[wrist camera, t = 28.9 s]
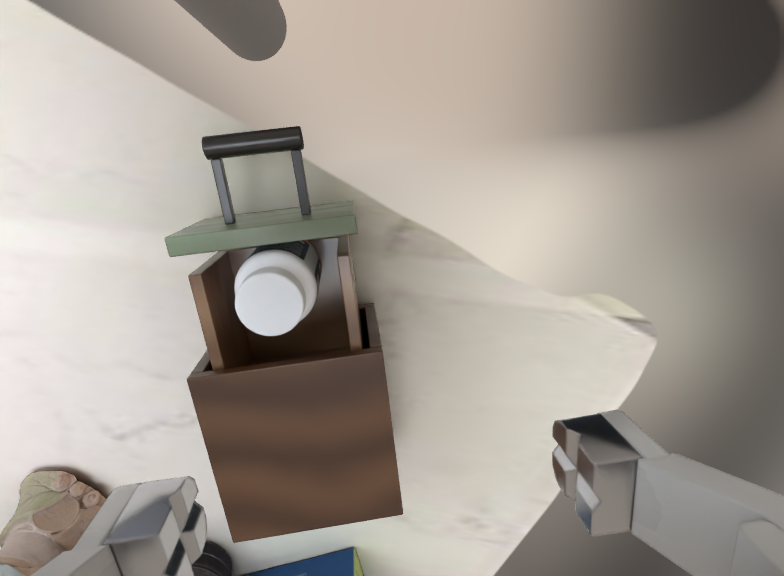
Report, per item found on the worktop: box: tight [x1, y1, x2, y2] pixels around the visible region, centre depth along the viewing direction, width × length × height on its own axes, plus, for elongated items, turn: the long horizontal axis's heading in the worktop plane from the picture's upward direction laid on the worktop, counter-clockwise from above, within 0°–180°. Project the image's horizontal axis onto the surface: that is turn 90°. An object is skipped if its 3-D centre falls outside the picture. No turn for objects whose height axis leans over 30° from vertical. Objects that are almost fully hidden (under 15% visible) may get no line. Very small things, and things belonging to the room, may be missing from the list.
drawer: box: [165, 126, 365, 371], centre depth 31 cm, size 18×11×8 cm, turn 6°
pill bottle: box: [234, 240, 321, 336], centre depth 30 cm, size 5×5×9 cm
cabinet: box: [187, 303, 403, 543], centre depth 35 cm, size 14×13×10 cm
